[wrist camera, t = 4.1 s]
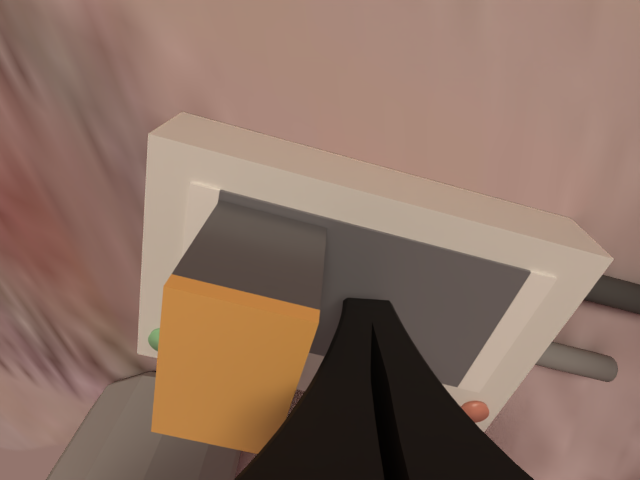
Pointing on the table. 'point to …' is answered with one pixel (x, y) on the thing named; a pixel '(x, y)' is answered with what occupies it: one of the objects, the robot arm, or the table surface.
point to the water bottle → (137, 443)
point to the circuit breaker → (380, 251)
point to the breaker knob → (237, 327)
